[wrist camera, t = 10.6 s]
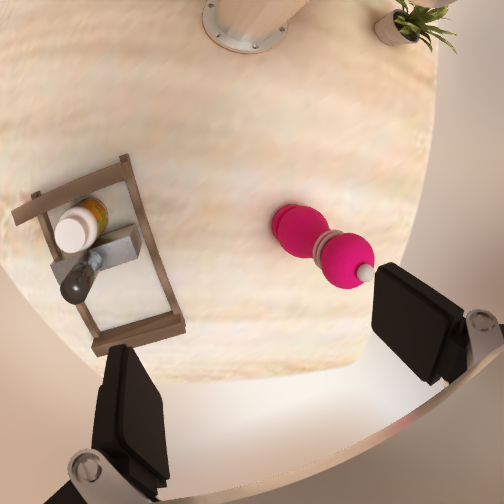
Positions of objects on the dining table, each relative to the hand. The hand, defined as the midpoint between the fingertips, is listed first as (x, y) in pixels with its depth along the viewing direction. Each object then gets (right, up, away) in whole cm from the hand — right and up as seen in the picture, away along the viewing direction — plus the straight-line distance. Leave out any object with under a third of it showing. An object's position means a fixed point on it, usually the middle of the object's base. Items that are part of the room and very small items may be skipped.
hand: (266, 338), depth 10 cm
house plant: (+24, +45, +26) cm, 57 cm away
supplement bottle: (-23, +8, +25) cm, 35 cm away
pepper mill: (+5, +7, +34) cm, 35 cm away
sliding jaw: (-22, +4, +27) cm, 35 cm away
